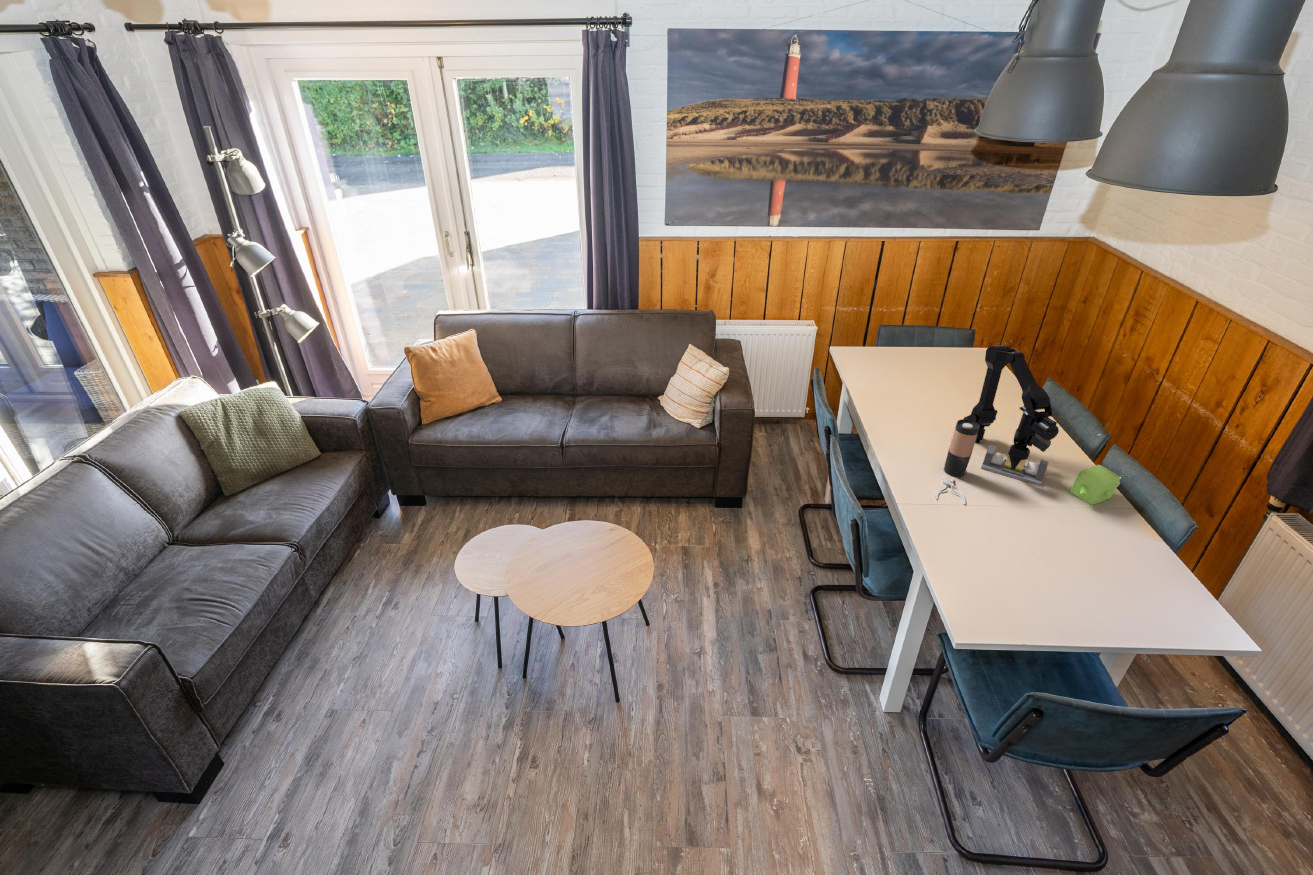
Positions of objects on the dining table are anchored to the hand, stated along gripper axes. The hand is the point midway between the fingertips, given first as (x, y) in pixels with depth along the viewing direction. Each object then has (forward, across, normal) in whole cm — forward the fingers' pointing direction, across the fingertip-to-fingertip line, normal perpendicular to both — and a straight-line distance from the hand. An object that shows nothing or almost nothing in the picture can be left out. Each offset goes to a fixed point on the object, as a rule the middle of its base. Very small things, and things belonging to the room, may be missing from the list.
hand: (1014, 462), depth 244 cm
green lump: (+4, -2, -26) cm, 26 cm away
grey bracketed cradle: (+4, 0, 0) cm, 4 cm away
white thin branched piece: (+4, -27, +17) cm, 32 cm away
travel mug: (+4, -13, +18) cm, 23 cm away
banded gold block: (+2, 0, 0) cm, 2 cm away
